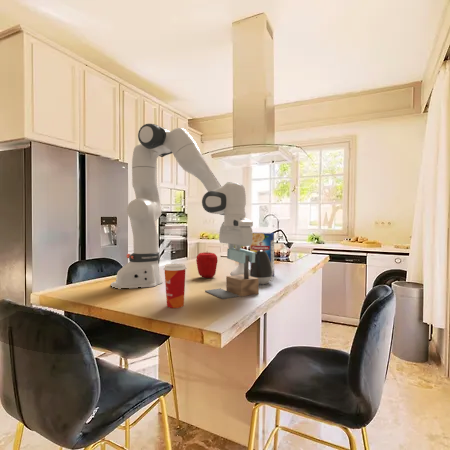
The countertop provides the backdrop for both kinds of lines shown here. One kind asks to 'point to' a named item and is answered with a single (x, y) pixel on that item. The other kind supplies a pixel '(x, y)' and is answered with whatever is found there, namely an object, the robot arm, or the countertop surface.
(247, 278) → the stand
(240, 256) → the c link
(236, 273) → the flower in vase
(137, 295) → the countertop surface
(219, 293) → the mat
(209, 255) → the apple
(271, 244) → the beverage box
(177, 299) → the paper cup
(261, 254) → the pump dispenser
